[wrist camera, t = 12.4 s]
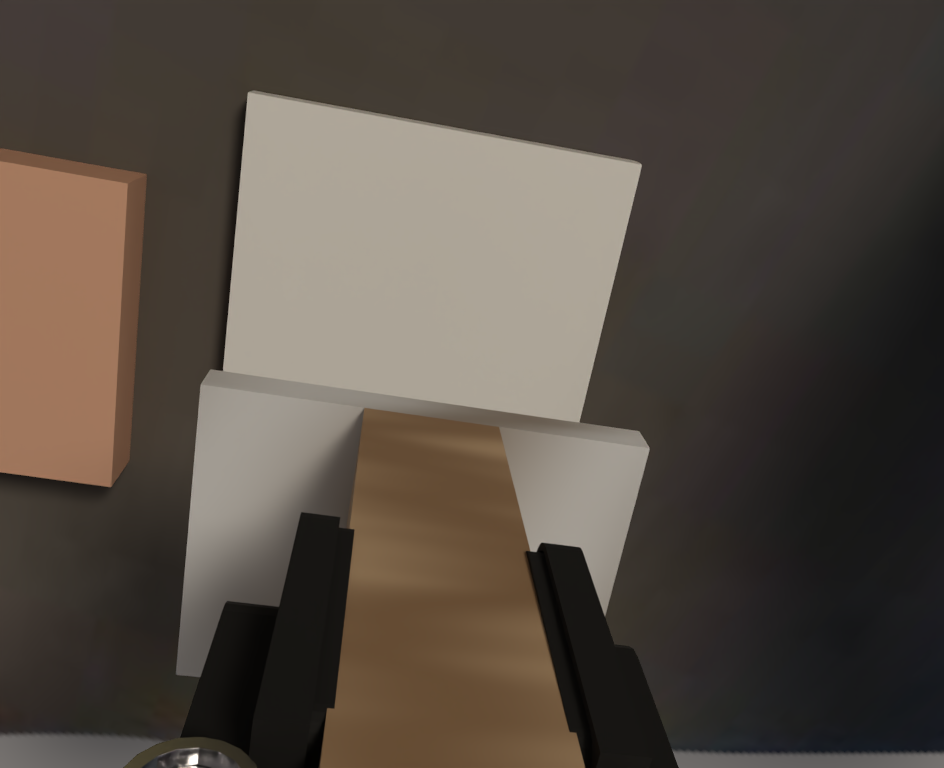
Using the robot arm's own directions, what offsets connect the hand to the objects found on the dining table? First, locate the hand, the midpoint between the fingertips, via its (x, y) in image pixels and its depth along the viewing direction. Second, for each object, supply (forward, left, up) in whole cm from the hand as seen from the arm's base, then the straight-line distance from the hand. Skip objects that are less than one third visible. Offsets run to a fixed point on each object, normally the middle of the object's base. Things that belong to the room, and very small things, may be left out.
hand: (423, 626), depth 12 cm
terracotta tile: (+14, -2, -18) cm, 23 cm away
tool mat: (0, +2, -19) cm, 19 cm away
